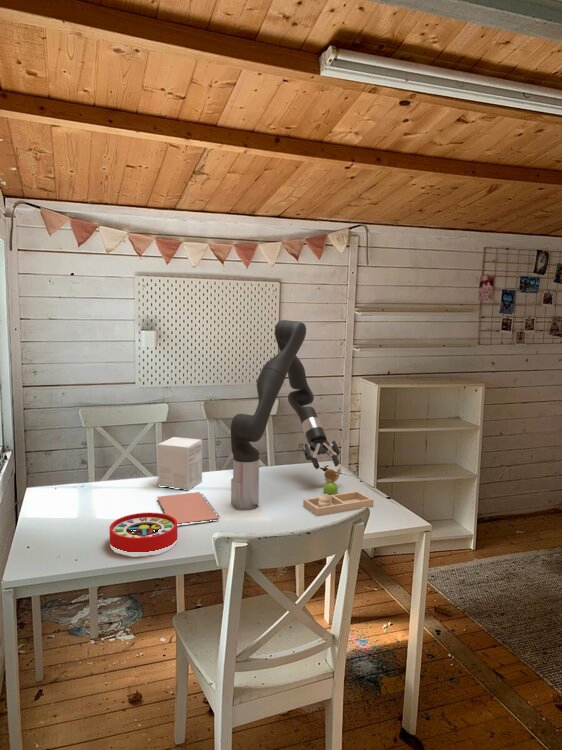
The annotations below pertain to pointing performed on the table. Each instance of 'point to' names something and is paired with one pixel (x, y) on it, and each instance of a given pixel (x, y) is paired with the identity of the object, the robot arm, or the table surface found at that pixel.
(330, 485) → the snail figurine
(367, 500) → the divided tray
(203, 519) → the notebook
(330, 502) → the beige domed knob
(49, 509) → the table surface
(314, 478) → the table surface
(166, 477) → the supplement box
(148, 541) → the toy clock
